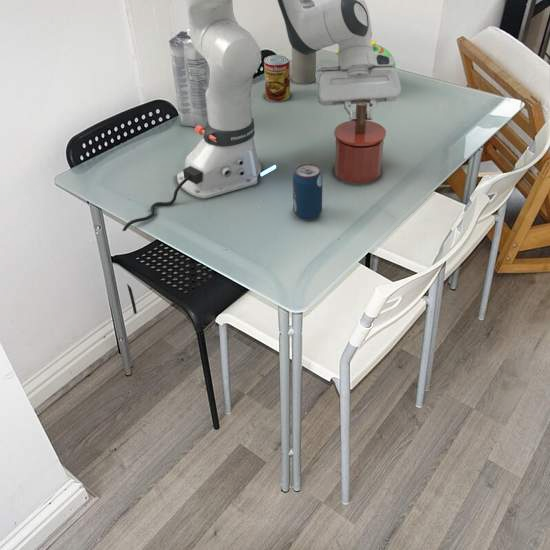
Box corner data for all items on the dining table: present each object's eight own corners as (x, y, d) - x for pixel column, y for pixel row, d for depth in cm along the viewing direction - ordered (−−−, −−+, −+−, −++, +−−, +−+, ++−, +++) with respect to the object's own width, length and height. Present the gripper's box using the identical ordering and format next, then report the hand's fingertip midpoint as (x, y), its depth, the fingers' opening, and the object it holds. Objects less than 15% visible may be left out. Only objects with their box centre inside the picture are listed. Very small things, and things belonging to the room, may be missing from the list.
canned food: (262, 100, 198) (260, 63, 190) (269, 90, 204) (268, 53, 196) (286, 102, 196) (285, 65, 189) (292, 92, 202) (292, 55, 194)
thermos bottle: (293, 74, 213) (292, -13, 195) (316, 74, 213) (317, -13, 194) (291, 83, 207) (289, -5, 189) (315, 84, 206) (316, -5, 188)
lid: (358, 153, 149) (360, 120, 143) (323, 134, 157) (324, 102, 151) (396, 137, 155) (399, 104, 149) (360, 119, 163) (362, 87, 157)
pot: (356, 190, 156) (358, 152, 150) (325, 171, 164) (326, 135, 157) (389, 174, 162) (393, 137, 155) (358, 156, 169) (360, 121, 162)
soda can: (327, 212, 149) (329, 168, 141) (309, 225, 145) (309, 181, 138) (305, 202, 153) (305, 159, 145) (287, 214, 149) (286, 171, 141)
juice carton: (209, 131, 183) (199, 38, 166) (177, 126, 186) (164, 35, 168) (221, 118, 189) (213, 27, 172) (190, 113, 192) (178, 24, 175)
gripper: (315, 62, 150) (320, 118, 149) (399, 57, 151) (405, 112, 150) (313, 73, 156) (318, 126, 155) (394, 68, 157) (399, 121, 156)
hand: (361, 119), depth 152 cm, fingers closed on lid, 2 cm apart
